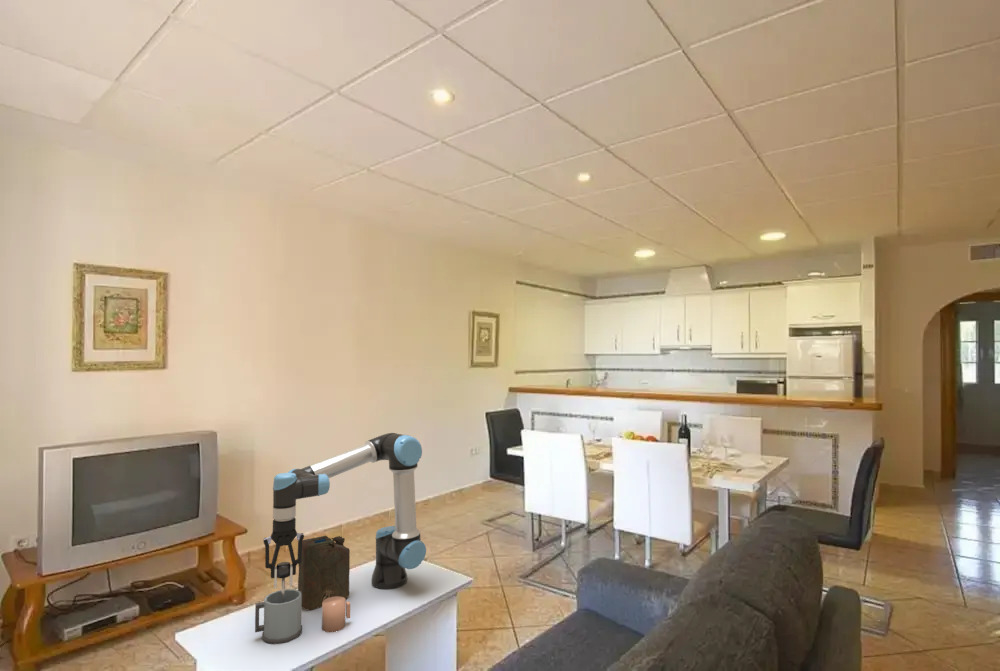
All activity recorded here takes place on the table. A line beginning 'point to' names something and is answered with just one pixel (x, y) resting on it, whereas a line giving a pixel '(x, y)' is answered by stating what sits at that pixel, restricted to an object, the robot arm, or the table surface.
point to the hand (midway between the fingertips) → (283, 585)
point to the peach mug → (334, 613)
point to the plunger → (283, 575)
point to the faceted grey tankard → (280, 617)
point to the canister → (323, 570)
